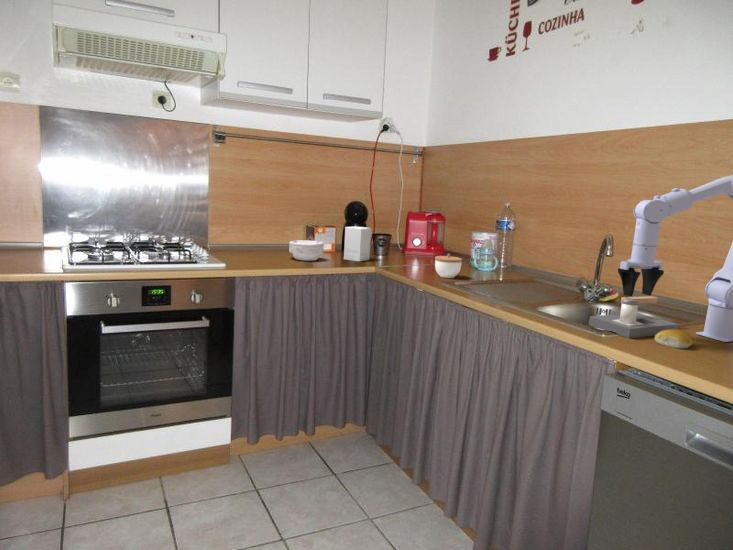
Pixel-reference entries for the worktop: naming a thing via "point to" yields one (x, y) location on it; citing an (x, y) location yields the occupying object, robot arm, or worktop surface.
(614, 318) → the socket panel
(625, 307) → the plug
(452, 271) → the lidded jar
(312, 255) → the paper bowls
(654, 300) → the tan long bar
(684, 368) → the worktop surface
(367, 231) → the supplement box
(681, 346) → the bread roll
